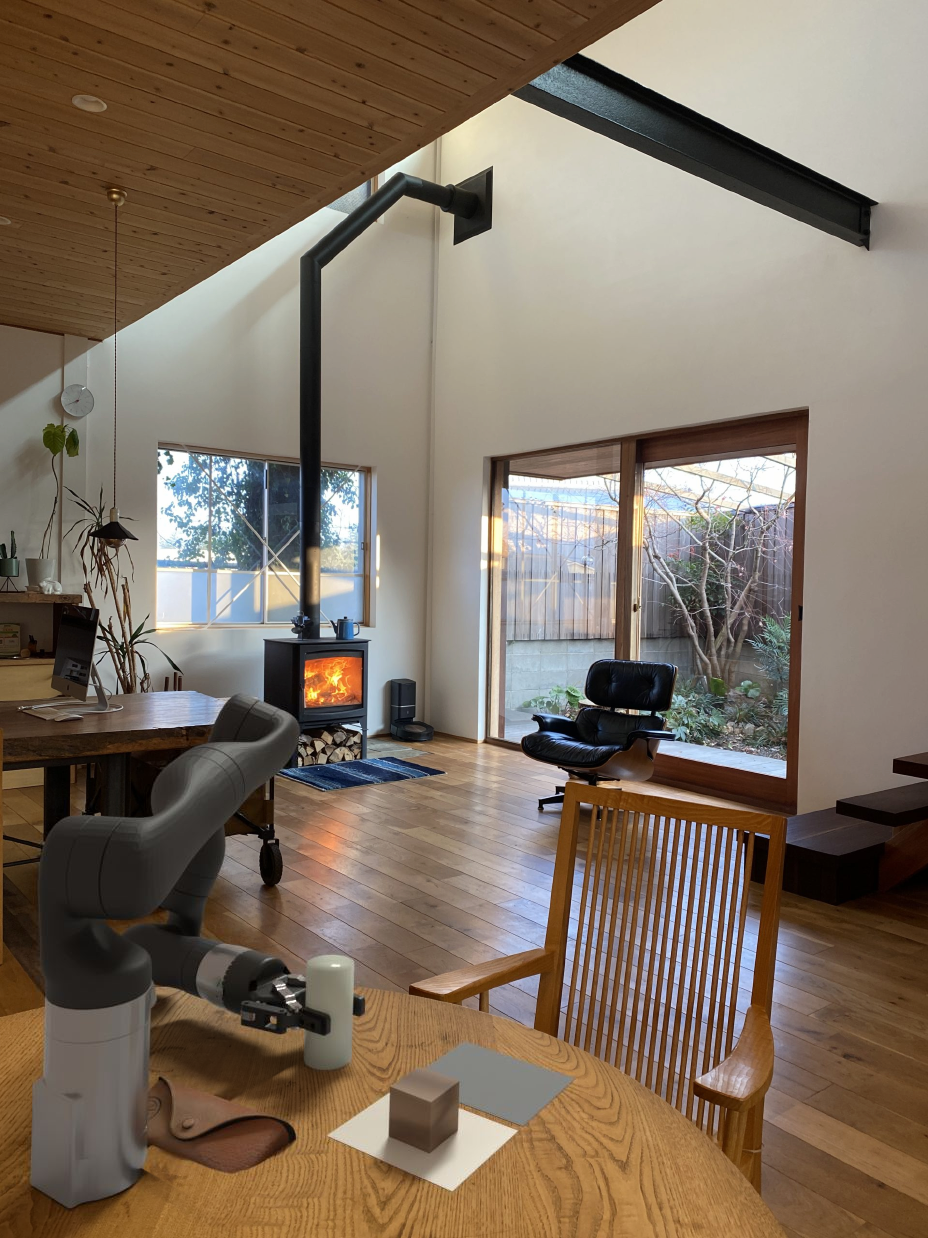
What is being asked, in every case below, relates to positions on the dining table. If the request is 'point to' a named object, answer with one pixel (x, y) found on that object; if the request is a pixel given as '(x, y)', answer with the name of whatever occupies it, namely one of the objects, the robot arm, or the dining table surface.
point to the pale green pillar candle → (330, 1010)
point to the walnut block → (424, 1109)
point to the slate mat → (500, 1082)
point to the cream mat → (438, 1167)
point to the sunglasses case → (212, 1128)
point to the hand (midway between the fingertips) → (345, 1016)
